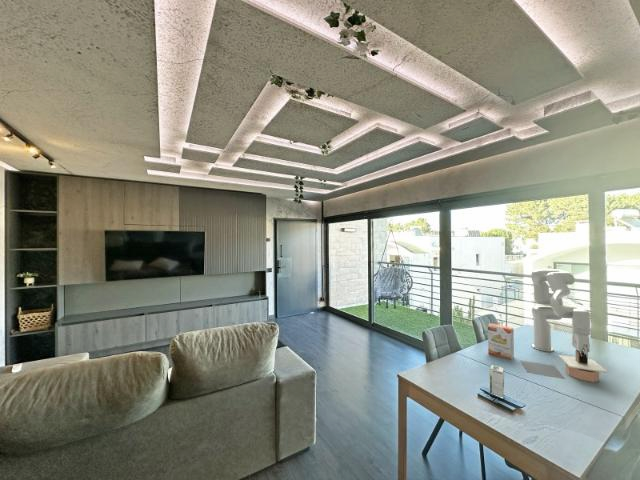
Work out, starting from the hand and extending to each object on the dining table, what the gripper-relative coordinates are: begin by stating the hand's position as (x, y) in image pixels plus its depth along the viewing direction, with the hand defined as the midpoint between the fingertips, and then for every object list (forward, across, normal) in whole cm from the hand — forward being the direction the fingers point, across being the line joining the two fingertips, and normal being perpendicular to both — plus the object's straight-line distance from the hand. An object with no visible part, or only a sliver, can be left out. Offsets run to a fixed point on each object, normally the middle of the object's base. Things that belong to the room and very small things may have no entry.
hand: (581, 361), depth 153 cm
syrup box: (+9, +44, -48) cm, 66 cm away
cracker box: (+9, -13, -38) cm, 41 cm away
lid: (+2, 0, 0) cm, 2 cm away
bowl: (+9, 0, 0) cm, 9 cm away
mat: (+9, 0, -19) cm, 21 cm away
